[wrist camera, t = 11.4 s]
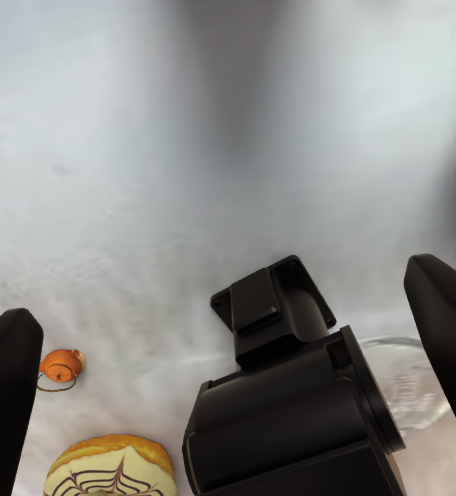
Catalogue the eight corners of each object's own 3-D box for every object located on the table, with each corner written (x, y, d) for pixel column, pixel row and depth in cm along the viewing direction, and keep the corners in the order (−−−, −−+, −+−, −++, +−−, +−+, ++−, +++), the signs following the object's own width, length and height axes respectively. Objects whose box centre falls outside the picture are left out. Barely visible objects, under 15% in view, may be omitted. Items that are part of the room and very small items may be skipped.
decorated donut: (199, 472, 36) (198, 517, 32) (106, 507, 38) (97, 552, 35) (131, 410, 31) (122, 456, 28) (30, 454, 33) (10, 501, 30)
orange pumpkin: (71, 379, 29) (59, 410, 27) (35, 360, 28) (19, 390, 26) (93, 359, 28) (83, 389, 26) (57, 338, 27) (43, 367, 25)
